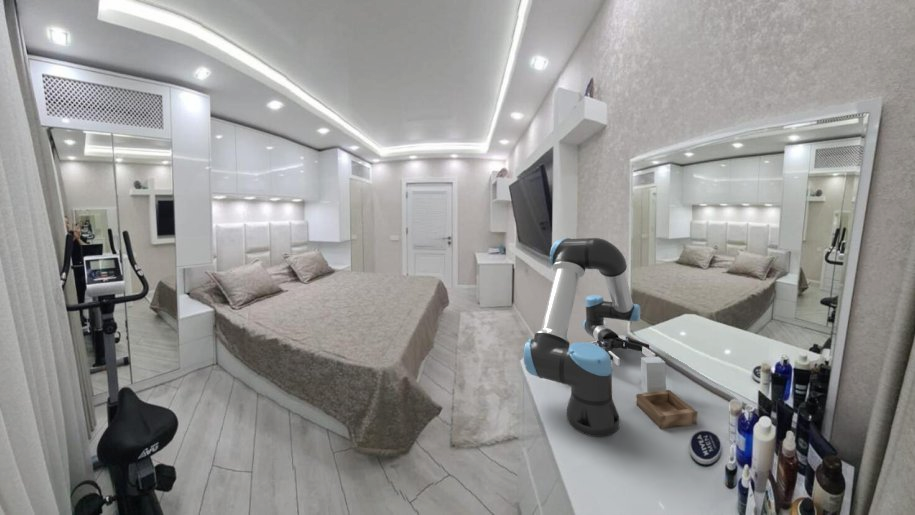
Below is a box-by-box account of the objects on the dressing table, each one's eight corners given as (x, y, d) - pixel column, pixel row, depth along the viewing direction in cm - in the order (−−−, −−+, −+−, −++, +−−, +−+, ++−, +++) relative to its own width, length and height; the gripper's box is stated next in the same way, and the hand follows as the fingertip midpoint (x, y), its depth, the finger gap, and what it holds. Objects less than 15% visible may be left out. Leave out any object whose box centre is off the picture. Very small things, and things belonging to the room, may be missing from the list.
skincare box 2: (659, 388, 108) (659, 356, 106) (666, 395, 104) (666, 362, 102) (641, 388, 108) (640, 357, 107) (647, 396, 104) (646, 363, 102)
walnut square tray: (660, 428, 89) (660, 416, 89) (636, 405, 100) (636, 394, 100) (696, 424, 90) (697, 411, 89) (669, 401, 101) (669, 389, 100)
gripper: (633, 341, 136) (669, 365, 115) (578, 348, 135) (604, 373, 114) (633, 325, 135) (669, 346, 114) (578, 332, 134) (603, 354, 113)
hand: (636, 359), depth 114 cm, fingers open, 13 cm apart
